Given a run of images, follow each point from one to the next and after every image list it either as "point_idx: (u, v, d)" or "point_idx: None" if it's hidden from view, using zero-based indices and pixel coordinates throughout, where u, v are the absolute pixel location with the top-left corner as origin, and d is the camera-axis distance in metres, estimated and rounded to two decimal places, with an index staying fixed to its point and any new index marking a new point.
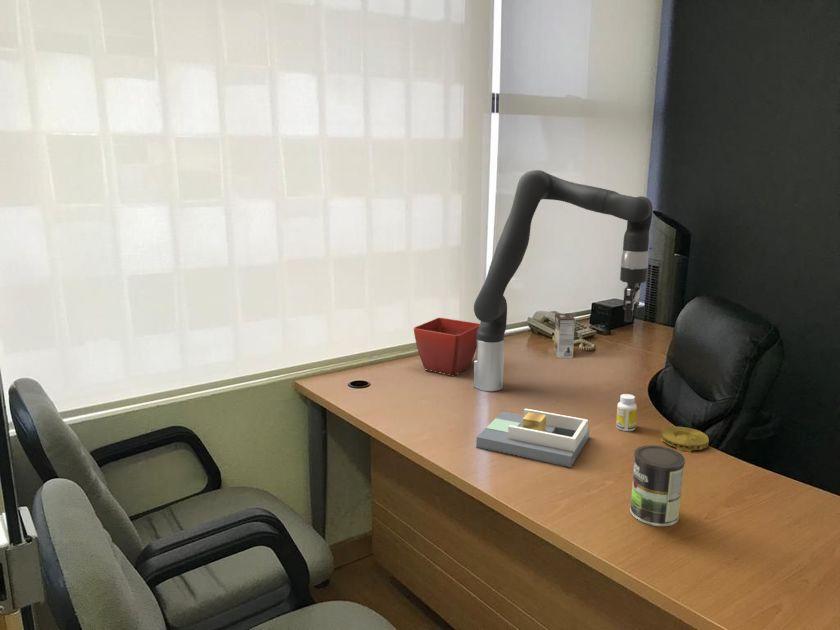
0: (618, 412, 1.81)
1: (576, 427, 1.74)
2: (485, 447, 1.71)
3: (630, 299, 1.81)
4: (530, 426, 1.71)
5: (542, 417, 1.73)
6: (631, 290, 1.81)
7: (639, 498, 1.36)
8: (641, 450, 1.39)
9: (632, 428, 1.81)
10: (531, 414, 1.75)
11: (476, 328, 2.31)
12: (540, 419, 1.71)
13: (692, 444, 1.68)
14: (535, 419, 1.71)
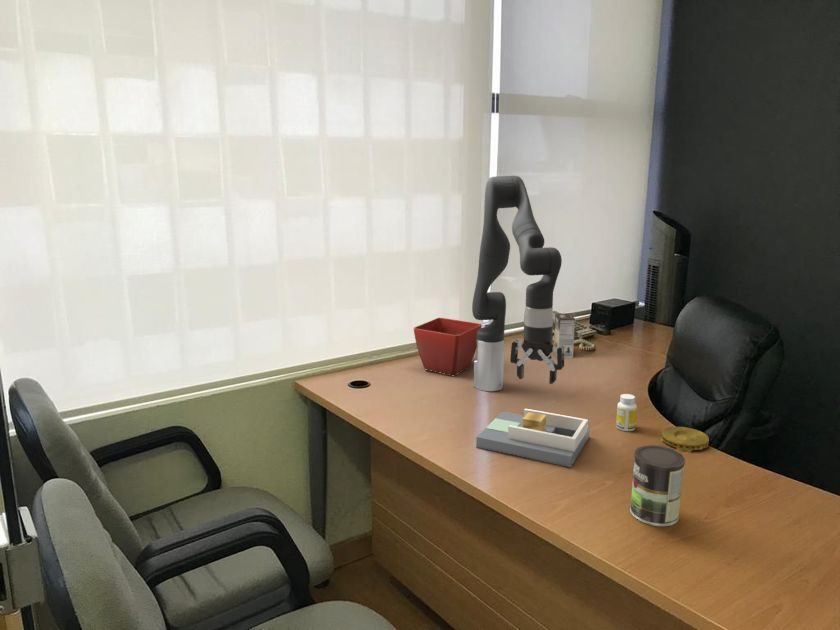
0: (618, 412, 1.81)
1: (576, 427, 1.74)
2: (485, 447, 1.71)
3: (563, 357, 1.66)
4: (530, 426, 1.71)
5: (542, 417, 1.73)
6: (563, 347, 1.66)
7: (639, 498, 1.36)
8: (641, 450, 1.39)
9: (632, 428, 1.81)
10: (531, 414, 1.75)
11: (476, 328, 2.31)
12: (540, 419, 1.71)
13: (692, 444, 1.68)
14: (535, 419, 1.71)
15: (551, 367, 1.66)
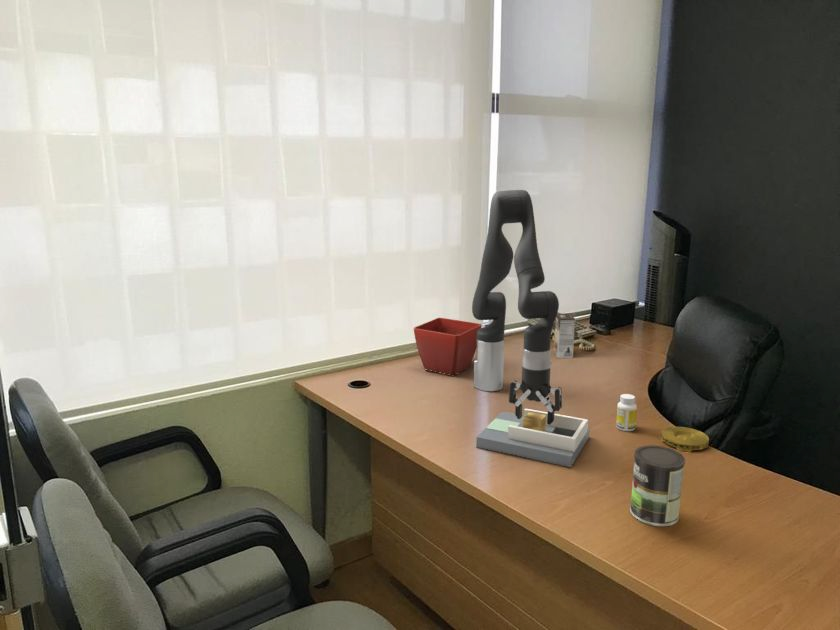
0: (618, 412, 1.81)
1: (576, 427, 1.74)
2: (485, 447, 1.71)
3: (561, 398, 1.69)
4: (530, 426, 1.71)
5: (542, 417, 1.73)
6: (560, 389, 1.68)
7: (639, 498, 1.36)
8: (641, 450, 1.39)
9: (632, 428, 1.81)
10: (531, 414, 1.75)
11: (476, 328, 2.31)
12: (540, 419, 1.71)
13: (692, 444, 1.68)
14: (535, 419, 1.71)
15: (549, 408, 1.69)
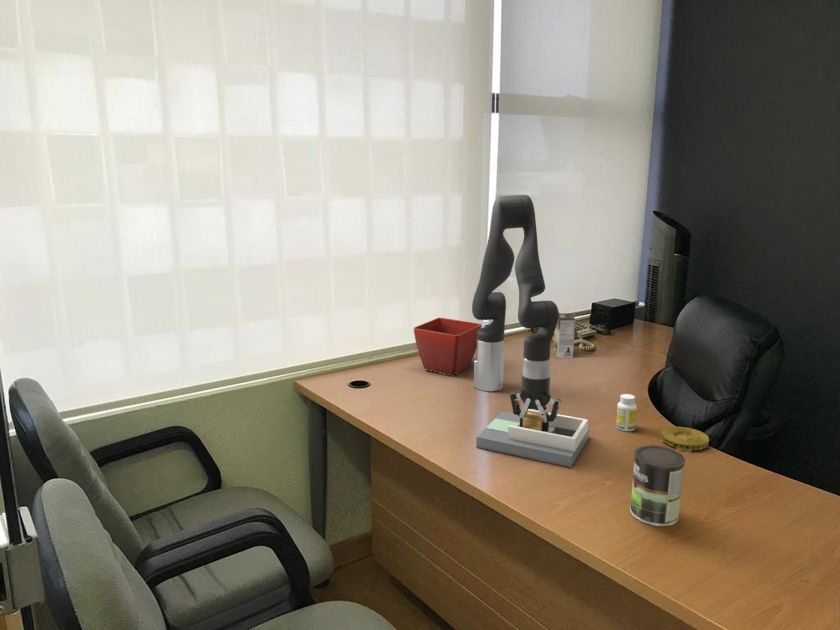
0: (618, 412, 1.81)
1: (576, 427, 1.74)
2: (485, 447, 1.71)
3: (557, 410, 1.70)
4: (530, 426, 1.71)
5: None
6: (560, 401, 1.69)
7: (639, 498, 1.36)
8: (641, 450, 1.39)
9: (632, 428, 1.81)
10: (531, 414, 1.75)
11: (476, 328, 2.31)
12: (540, 419, 1.71)
13: (692, 444, 1.68)
14: (535, 419, 1.71)
15: (543, 418, 1.70)
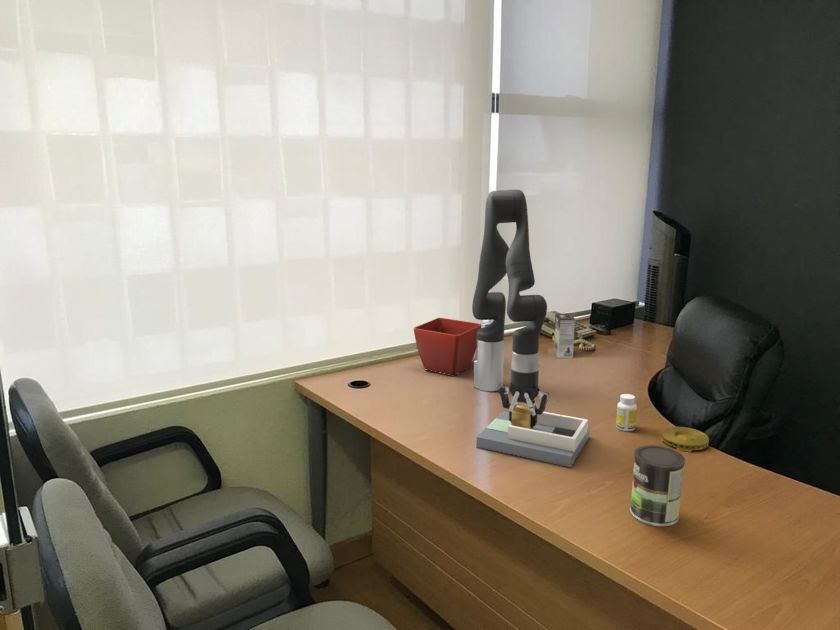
0: (618, 412, 1.81)
1: (576, 427, 1.74)
2: (485, 447, 1.71)
3: (546, 403, 1.72)
4: (519, 419, 1.73)
5: None
6: (548, 395, 1.71)
7: (639, 498, 1.36)
8: (641, 450, 1.39)
9: (632, 428, 1.81)
10: (520, 407, 1.76)
11: (476, 328, 2.31)
12: (529, 412, 1.73)
13: (692, 444, 1.68)
14: (524, 412, 1.73)
15: (532, 412, 1.72)
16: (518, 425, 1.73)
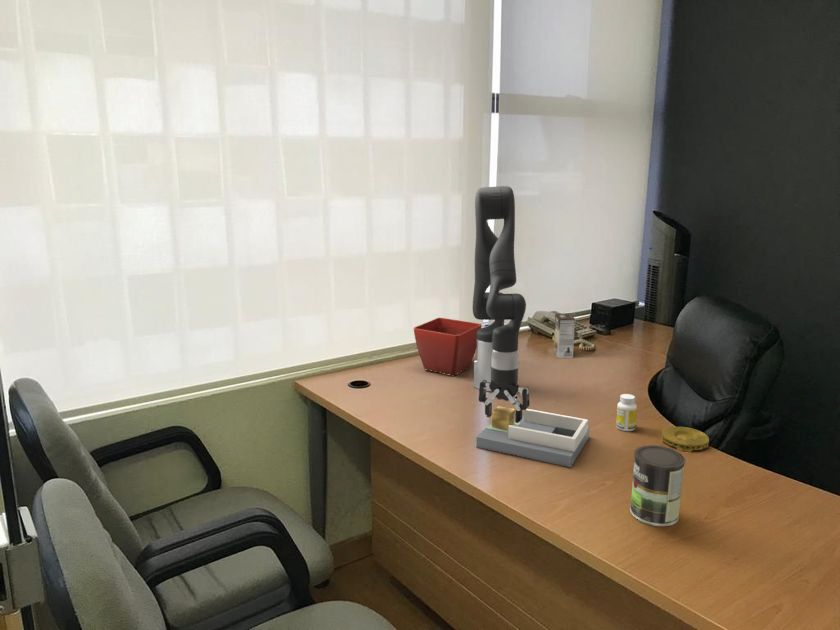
0: (618, 412, 1.81)
1: (576, 427, 1.74)
2: (485, 447, 1.71)
3: (528, 397, 1.73)
4: (499, 419, 1.75)
5: (511, 410, 1.77)
6: (528, 388, 1.73)
7: (639, 498, 1.36)
8: (641, 450, 1.39)
9: (632, 428, 1.81)
10: (500, 408, 1.79)
11: (476, 328, 2.31)
12: (509, 412, 1.75)
13: (692, 444, 1.68)
14: (504, 412, 1.75)
15: (517, 407, 1.73)
16: (498, 425, 1.76)
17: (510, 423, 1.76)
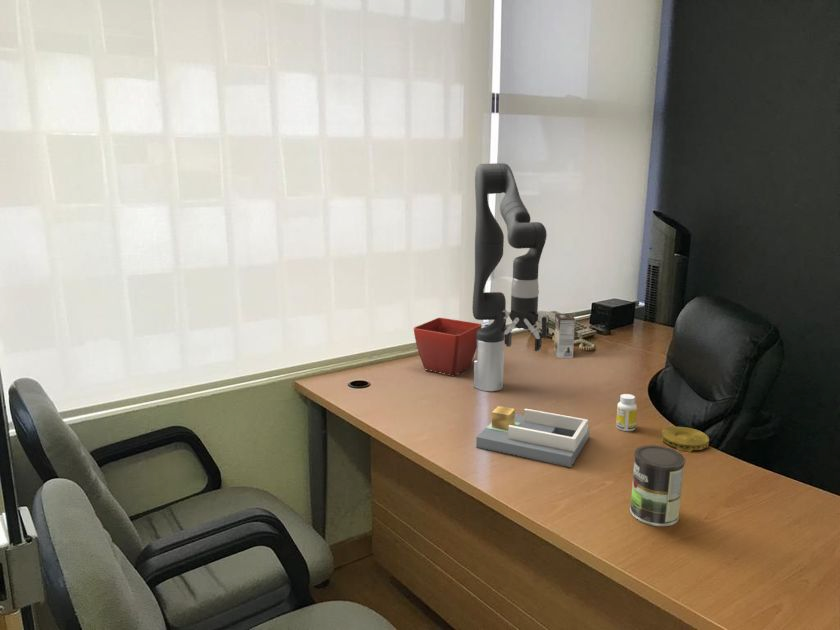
0: (618, 412, 1.81)
1: (576, 427, 1.74)
2: (485, 447, 1.71)
3: (548, 326, 1.77)
4: (499, 419, 1.75)
5: (511, 410, 1.77)
6: (547, 317, 1.76)
7: (639, 498, 1.36)
8: (641, 450, 1.39)
9: (632, 428, 1.81)
10: (500, 408, 1.79)
11: (476, 328, 2.31)
12: (509, 412, 1.75)
13: (692, 444, 1.68)
14: (504, 412, 1.75)
15: (536, 335, 1.77)
16: (498, 425, 1.76)
17: (510, 423, 1.76)
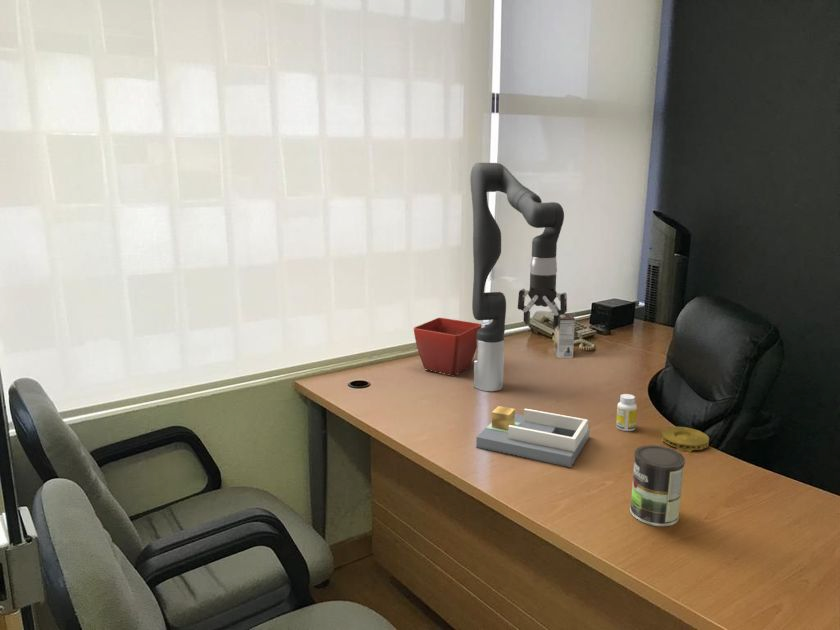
0: (618, 412, 1.81)
1: (576, 427, 1.74)
2: (485, 447, 1.71)
3: (566, 303, 1.83)
4: (499, 419, 1.75)
5: (511, 410, 1.77)
6: (565, 294, 1.82)
7: (639, 498, 1.36)
8: (641, 450, 1.39)
9: (632, 428, 1.81)
10: (500, 408, 1.79)
11: (476, 328, 2.31)
12: (509, 412, 1.75)
13: (692, 444, 1.68)
14: (504, 412, 1.75)
15: (555, 312, 1.83)
16: (498, 425, 1.76)
17: (510, 423, 1.76)
